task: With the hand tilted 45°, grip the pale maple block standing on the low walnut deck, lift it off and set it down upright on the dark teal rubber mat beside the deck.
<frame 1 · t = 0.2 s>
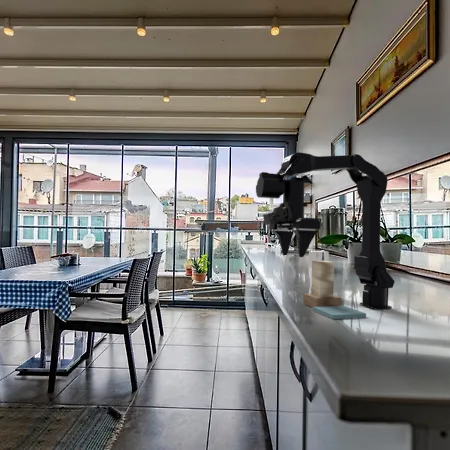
hand: (292, 256, 95), 15 cm above the counter, tool pointing down, fingers open, 9 cm apart
teal mat: (338, 313, 91), on the counter
beer glass: (317, 295, 119), on the counter
walnut deck: (321, 305, 101), on the counter
maple block: (322, 295, 101), point 3 cm above the counter, touching walnut deck
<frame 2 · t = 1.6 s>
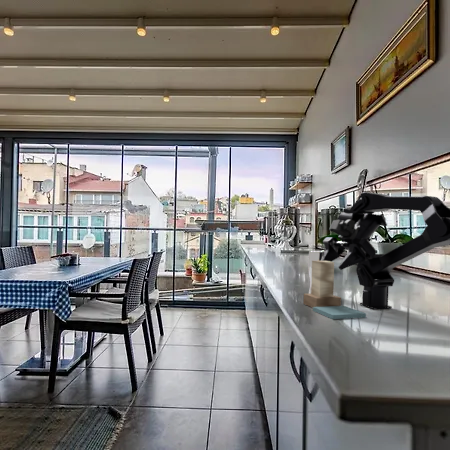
hand: (330, 266, 102), 11 cm above the counter, tool tilted 45°, fingers open, 9 cm apart
nothing on the counter moved.
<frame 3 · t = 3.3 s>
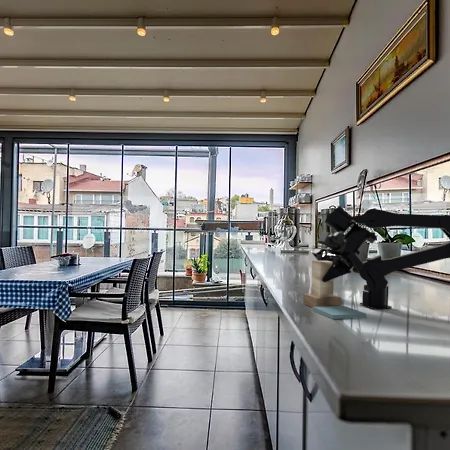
hand: (318, 279, 101), 8 cm above the counter, tool tilted 45°, fingers closed on maple block, 4 cm apart
maple block: (322, 295, 101), point 3 cm above the counter, touching gripper, walnut deck
everything else where it was.
when the fingers open (6 cm above the counter, at t = 8.0 s): maple block stays where it is, resting on teal mat.
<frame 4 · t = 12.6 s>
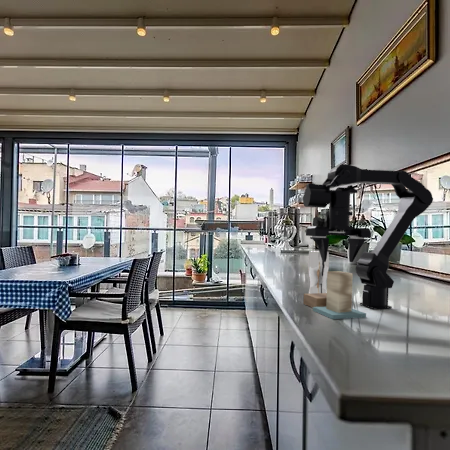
hand: (337, 261, 101), 13 cm above the counter, tool pointing down, fingers open, 9 cm apart
maple block: (338, 310, 92), point 1 cm above the counter, touching teal mat
everything else where it was.
at the end: maple block 0.0 cm off-centre on the teal mat, point 1.0 cm above the teal mat's base; maple block tilted 0°; the gripper is holding nothing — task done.
